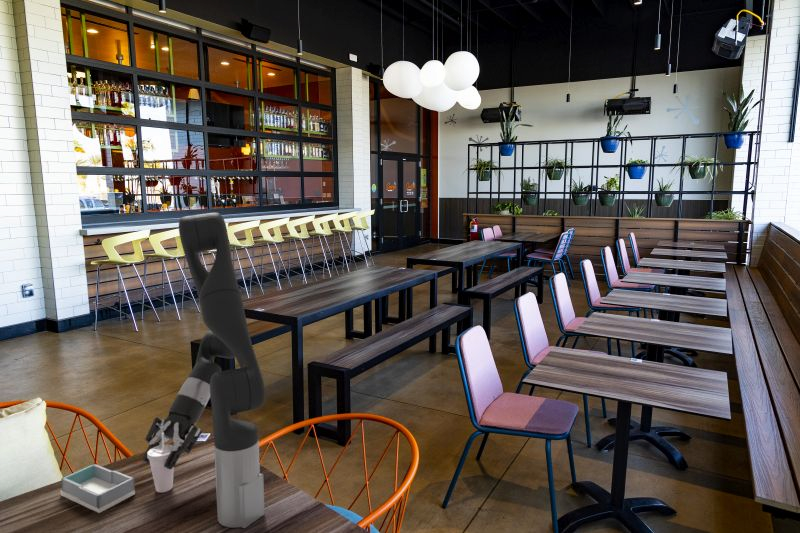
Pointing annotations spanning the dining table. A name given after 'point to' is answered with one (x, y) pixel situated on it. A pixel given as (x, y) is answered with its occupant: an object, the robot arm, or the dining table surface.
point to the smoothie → (161, 466)
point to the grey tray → (97, 487)
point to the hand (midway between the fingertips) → (156, 464)
